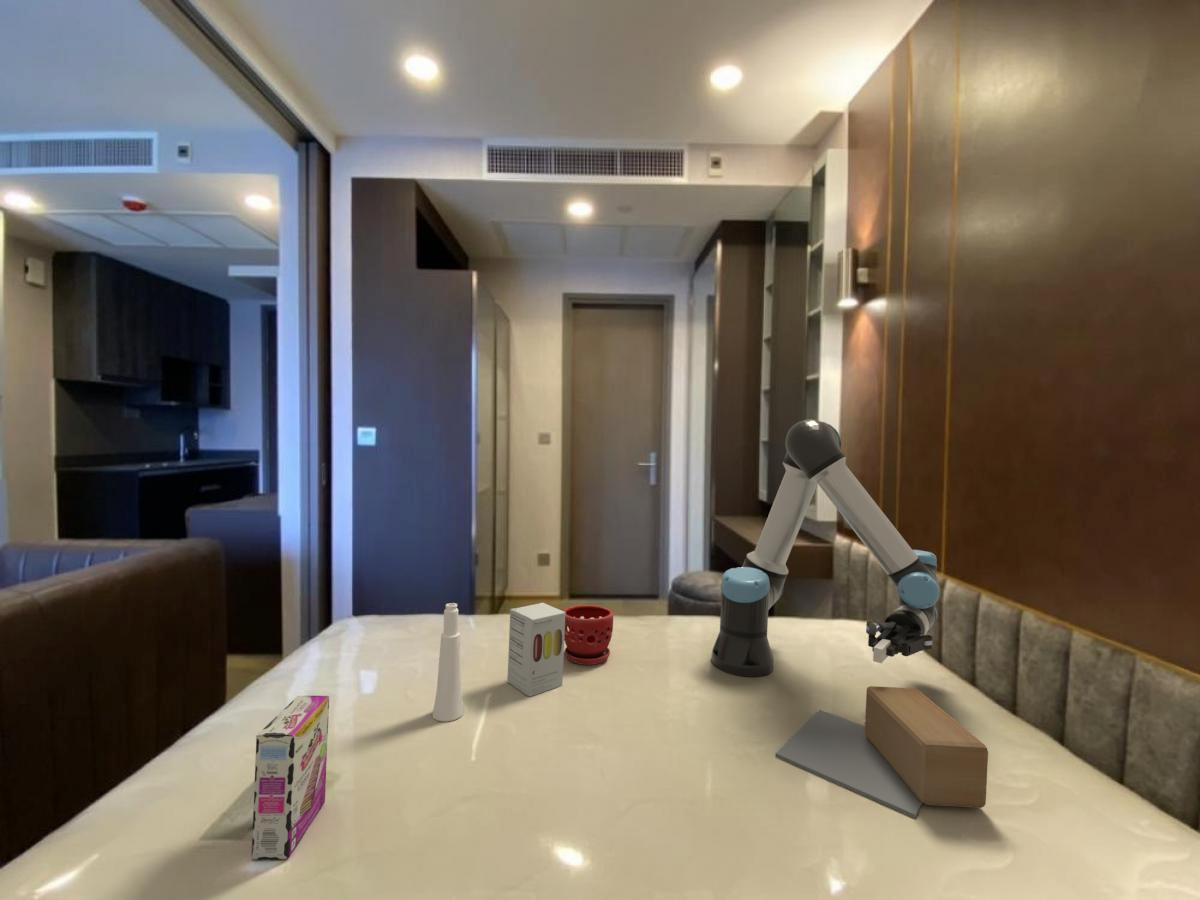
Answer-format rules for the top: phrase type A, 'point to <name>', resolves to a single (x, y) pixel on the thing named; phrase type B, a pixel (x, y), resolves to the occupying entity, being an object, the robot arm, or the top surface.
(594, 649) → the plant pot
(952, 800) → the wooden block
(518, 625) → the supplement box
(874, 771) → the mat
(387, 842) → the top surface
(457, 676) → the cosmetic bottle
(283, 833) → the candy bar box
